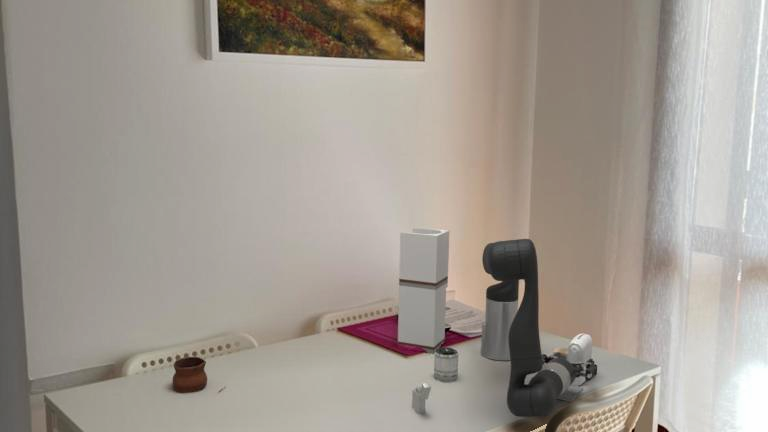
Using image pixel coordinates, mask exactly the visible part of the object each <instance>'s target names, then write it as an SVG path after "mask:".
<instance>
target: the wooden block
mask: <svg viewBox="0 0 768 432" xmlns="http://www.w3.org/2000/svg"><path fill="white" fill-rule="evenodd" d="M557 352H560V353H561V354H560V358H563V359H565V360H567V361H568V348H565V347H560V346H558V347H556V348H555V349H553V352H552V355H553V354H555V353H557Z"/></svg>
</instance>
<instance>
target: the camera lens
mask: <svg viewBox="0 0 768 432" xmlns="http://www.w3.org/2000/svg"><path fill="white" fill-rule="evenodd" d="M433 369H434V370H433V372H434V378H435V379H436V380H437V381H439V382H443V383H448V382H449V383H450V382H451V383H452V382H455V381H456V380H457V377H458V373H459V352H458V351H457V350H456V349H454V348H452V347H441V348H440V349H437V350H436V351H435V353H434V367H433Z"/></svg>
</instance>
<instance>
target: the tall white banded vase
mask: <svg viewBox="0 0 768 432" xmlns="http://www.w3.org/2000/svg"><path fill="white" fill-rule="evenodd" d="M399 233H400V234H399V235H400V236H399V237H400V238H399V268H398V269H399V273H398V274H399V275H398V276H399V277H398V278H399V279H398V316H397V317H398V318H397V319H398V320H397V323H398V324H397V345H398V344H402V345H408V346H415V347H420V348H422V349H424V350H426V351H427V352H428V353H427V354H431V353H432V355H433V354H434V355H435V351H436V350H437V349H439V347H440V346H441V344H443V343H444V341H445V340H447V337H446V336H445V335H446V333H445V331H446V308H447V307H446V305H447V303H446V302H447V288H448V285H449V284H448V283H449V279H448V278H449V260H450V259H449V256H450V255H449V252H450V229H449V230H447V229H437V228H436V229H434V228H426V227H416V226H415V227H412V232H406V231H405V232H404V231H401V232H399Z"/></svg>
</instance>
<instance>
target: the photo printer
mask: <svg viewBox="0 0 768 432" xmlns="http://www.w3.org/2000/svg"><path fill="white" fill-rule="evenodd" d="M567 349H568V361H569V362H578V361H581V362H583V363H585V362H587V361H588V360H589V359H590V358H591V359H593V358H592V355H593V338H592V337H591V335H589V334H588V333H587V334H586V333H579V334H577V335H575V336H574V337H573V338H572V340H571V341H570V342H569V345H568V348H567ZM577 366H578V367H579V365H577ZM584 370H586V366H584ZM585 382H587V381H586V380H585V377H583V376H580V377H578V378H575V380H574V382H573V383H572V384H571V385H573V386H577V387H579V386H581V385H582V384H583V383H585Z"/></svg>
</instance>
